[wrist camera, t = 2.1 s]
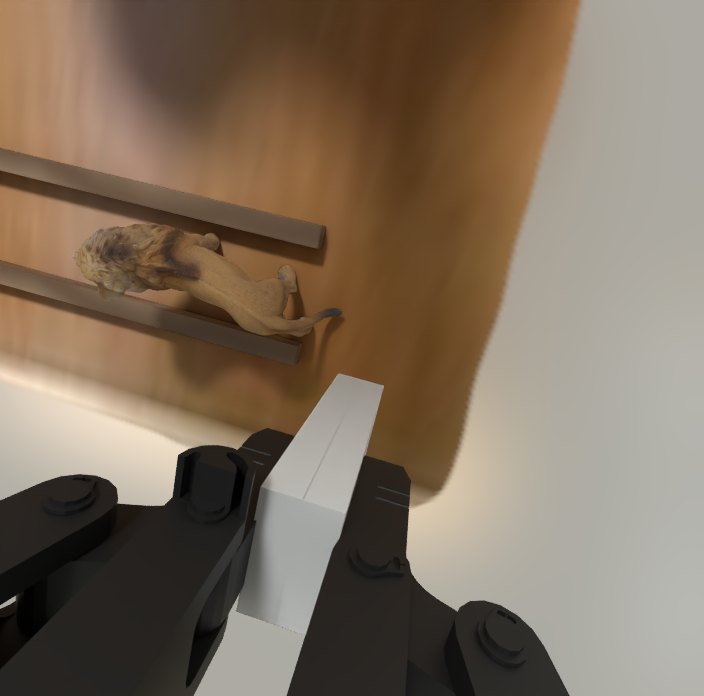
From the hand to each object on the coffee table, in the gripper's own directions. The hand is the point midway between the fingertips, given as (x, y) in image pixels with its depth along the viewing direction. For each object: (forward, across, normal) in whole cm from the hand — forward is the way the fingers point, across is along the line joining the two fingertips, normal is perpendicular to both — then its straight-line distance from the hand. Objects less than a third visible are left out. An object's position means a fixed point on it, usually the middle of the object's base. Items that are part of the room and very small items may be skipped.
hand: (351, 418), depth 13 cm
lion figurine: (+17, -11, 0) cm, 21 cm away
